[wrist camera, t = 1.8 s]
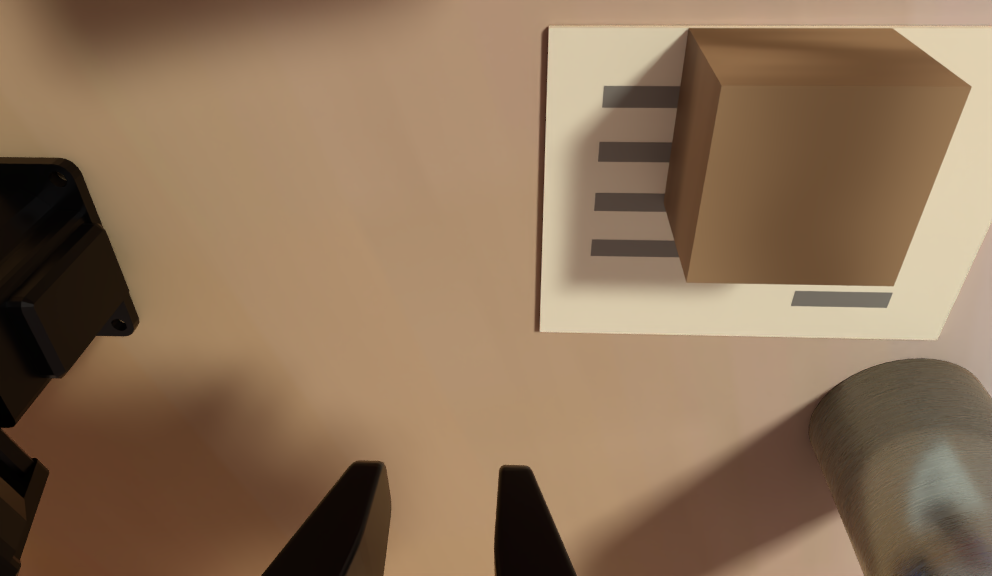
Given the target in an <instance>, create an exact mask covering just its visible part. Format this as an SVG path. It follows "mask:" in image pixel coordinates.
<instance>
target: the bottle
mask: <svg viewBox="0 0 992 576" xmlns="http://www.w3.org/2000/svg"><path fill="white" fill-rule="evenodd" d="M809 438H810V442H811V444H812V447H813V449H814V452H815V454H816V457H817V459H818V462H819V464H820V467H821V469H822V472H823V474H824V477H825V479H826V482H827V484H828V487H829V489H830V492H831V494H832V497H833V499H834V502H835V504H836V507H837V509H838V512H839V514H840V517H841V519H842V522H843V524H844V527H845V529H846V532H847V534H848V536H849V539H850V541H851V544H852V546H853V549H854V551H855V554H856V556H857V559H858V561H859V564H860V566H861V569H862V571H863V574H864V576H992V398H991V396H990V395H989V394H988V392H987V391H986V389H985V388H984V387H983V385H982V384H981V382H980V381H979V380H978V379H977V378H976V377H975V376H974V375H973V374H972V373H971V372H969V371H968V370H966V369H965V368H963V367H961V366H959V365H956V364H953V363H950V362H947V361H942V360H936V359H924V358H923V359H905V360H898V361H893V362H888V363H884V364H881V365H877V366H874V367H871V368H869V369H866V370H864V371H861V372H859V373H857V374H855V375H853V376H851V377H850V378H848V379H846V380H845V381H843V382H842V383H840V384H839V385H838V386H836V387H835V388H834V389H832V390H831V391H830V392H829V393H828V394H827V395H826V396H825V397H824V398H823V399H822V401H821V402H820V403H819V404H818V406H817V408H816V409H815V411H814V413H813V415H812V417H811V421H810V425H809Z"/></svg>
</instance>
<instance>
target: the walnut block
mask: <svg viewBox="0 0 992 576" xmlns="http://www.w3.org/2000/svg"><path fill="white" fill-rule="evenodd" d="M971 88H972V86H970V85H969V84H968V83H966V82H965V81H963V80H962V79H961V78H959V77H958V76H957V75H955V74H954V73H953V72H951V71H950V70H949V69H947V68H946V67H944V66H943V65H942V64H940V63H939V62H938V61H936V60H935V59H934V58H932V57H931V56H930V55H928V54H927V53H926V52H924V51H923V50H921V49H920V48H919V47H917V46H916V45H915V44H913V43H912V42H911V41H909V40H908V39H907V38H905V37H904V36H902V35H901V34H900V33H898V32H897V31H896V30H894V29H893V28H689V29H688V36H687V43H686V50H685V57H684V64H683V71H682V78H681V85H680V92H679V99H678V106H677V113H676V120H675V127H674V134H673V141H672V148H671V155H670V161H669V168H668V175H667V182H666V189H665V196H664V206H665V210H666V213H667V217H668V220H669V224H670V227H671V231H672V234H673V238H674V241H675V245H676V248H677V252H678V255H679V259H680V262H681V266H682V269H683V273H684V276H685V280H686V283H728V284H785V285H842V286H894V284H895V282H896V279H897V277H898V274H899V272H900V269H901V267H902V264H903V261H904V259H905V256H906V254H907V251H908V249H909V246H910V244H911V241H912V238H913V236H914V233H915V231H916V228H917V226H918V223H919V221H920V218H921V215H922V213H923V210H924V208H925V205H926V203H927V200H928V198H929V195H930V192H931V190H932V187H933V185H934V182H935V180H936V177H937V175H938V172H939V170H940V167H941V164H942V162H943V159H944V157H945V154H946V152H947V149H948V147H949V144H950V141H951V139H952V136H953V134H954V131H955V129H956V126H957V124H958V121H959V118H960V116H961V113H962V111H963V108H964V106H965V103H966V101H967V98H968V95H969V93H970V90H971Z"/></svg>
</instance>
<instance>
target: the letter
mask: <svg viewBox="0 0 992 576" xmlns="http://www.w3.org/2000/svg"><path fill="white" fill-rule="evenodd" d="M689 28H893V29H894V30H896V31H897V32H898V33H900V34H901V35H902V36H904V37H905V38H907V39H908V40H909V41H911V42H912V43H913V44H915V45H916V46H917V47H919V48H920V49H921V50H923V51H924V52H926V53H927V54H928V55H930V56H931V57H932V58H934V59H935V60H936V61H938V62H939V63H940V64H942V65H943V66H944V67H946V68H947V69H949V70H950V71H951V72H953V73H954V74H955V75H957V76H958V77H959V78H961V79H962V80H963V81H965V82H966V83H968V84H969V85H970V86H972V88H971V90H970V93H969V95H968V98H967V101H966V103H965V106H964V108H963V111H962V113H961V116H960V118H959V121H958V124H957V126H956V129H955V131H954V134H953V136H952V139H951V141H950V144H949V147H948V149H947V152H946V154H945V157H944V159H943V162H942V164H941V167H940V170H939V172H938V175H937V177H936V180H935V182H934V185H933V187H932V190H931V192H930V195H929V198H928V200H927V203H926V205H925V208H924V210H923V213H922V215H921V218H920V221H919V223H918V226H917V228H916V231H915V233H914V236H913V238H912V241H911V244H910V246H909V249H908V251H907V254H906V256H905V259H904V261H903V264H902V267H901V269H900V272H899V274H898V277H897V279H896V282H895V284H894V286H842V285H785V284H728V283H686V280H685V276H684V273H683V269H682V266H681V262H680V259H679V255H678V252H677V248H676V245H675V241H674V238H673V234H672V231H671V227H670V224H669V220H668V217H667V213H666V210H665V206H664V196H665V189H666V182H667V175H668V168H669V161H670V155H671V148H672V141H673V134H674V127H675V120H676V113H677V106H678V99H679V92H680V85H681V78H682V71H683V64H684V57H685V50H686V43H687V36H688V29H689ZM991 222H992V26H549V36H548V70H547V103H546V136H545V169H544V203H543V236H542V269H541V302H540V332H567V333H615V334H662V335H710V336H758V337H806V338H853V339H901V340H937V339H938V337H939V335H940V332H941V330H942V328H943V326H944V324H945V322H946V319H947V317H948V315H949V313H950V311H951V309H952V306H953V304H954V302H955V300H956V298H957V296H958V293H959V291H960V289H961V287H962V285H963V283H964V280H965V278H966V276H967V274H968V272H969V270H970V267H971V265H972V263H973V261H974V259H975V257H976V254H977V252H978V250H979V248H980V246H981V244H982V241H983V239H984V237H985V235H986V233H987V231H988V228H989V226H990V224H991Z"/></svg>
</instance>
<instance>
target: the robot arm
mask: <svg viewBox="0 0 992 576" xmlns="http://www.w3.org/2000/svg"><path fill="white" fill-rule="evenodd" d="M57 172H59V173H61V174H62V175H64V176H65V178H66V179H67V181H66V180H63V179H62V178H60V177H59V175H58V174H57ZM120 320H122V321H123V322H125V323H123V322H121V321H120ZM138 324H139V317H138V315H137V312H136V310H135V307H134V305H133V302H132V300H131V297H130V294H129V289H128V287H127V284H126V281H125V279H124V276H123V274H122V271H121V269H120V266H119V264H118V261H117V259H116V256H115V254H114V251H113V248H112V246H111V243H110V241H109V238H108V236H107V233H106V231H105V230H104V228H103V226H102V224H101V221H100V219H99V216H98V214H97V211H96V208H95V206H94V203H93V201H92V198H91V196H90V193H89V191H88V188H87V186H86V183H85V181H84V178H83V176H82V173H81V171H80V170H79V168H78V167H77V166H76V165H75V164H74V163H73V162H71V161H69V160H67V159H63V158H25V157H0V427H1V428H10V427H14V426H15V424H16V423H17V422H18V421H19V419H20V418H21V417H22V416H23V414H24V413H25V412H26V411H27V409H28V408H29V407H30V405H31V404H32V403H33V402H34V400H35V399H36V398H37V397H38V395H39V394H40V393H41V392H42V390H43V389H44V388H45V387H46V385H47V384H48V383H49V382H50V380H51V379H52V378H62V377H64V376H65V374H66V373H67V372H68V371H69V370H70V368H71V367H72V366H73V365H74V363H75V362H76V361H77V359H78V358H79V357H80V356H81V354H82V353H83V352H84V350H85V349H86V348H87V347H88V345H89V344H90V343H91V341H92V340H93V339H94V338H95V336H129V335H130V334H132V333H133V332H134V330H135V329H136V328H137V326H138ZM1 428H0V576H18V574H19V570H20V567H21V562H20V558H21V555H22V552H23V549H24V546H25V543H26V540H27V537H28V534H29V531H30V528H31V525H32V522H33V519H34V516H35V513H36V510H37V507H38V504H39V501H40V498H41V495H42V492H43V490H44V487H45V484H46V481H47V478H48V475H49V470H48V469H47V468H46V467H45V466H44V465H43V464H42V463H41V462H40V461H39V460H38V459H36V458H30V457H29V456H28V455H27V454H26V453H25V452H24V451H23V450H22V449H21V448H20V447H19V446H18V445H17V444H16V443H15V442H14V441H13V440H12V439H11V438H10V437H9V436H8V435H7V434H6V433H5V432H4V431H3V430H2V429H1ZM390 518H391V496H390V490H389V483H388V477H387V470H386V466H385V465H384V463H383V462H381V461H362V460H359V461H355V462H354V463H352V464H351V465H350V466H349V468H348V469H347V470H346V471H345V472H344V474H343V475H342V476H341V477H340V479H339V480H338V481H337V482H336V484H335V485H334V486H333V487H332V489H331V490H330V491H329V492H328V494H327V495H326V496H325V497H324V499H323V500H322V501H321V502H320V503H319V505H318V506H317V507H316V508H315V510H314V511H313V512H312V513H311V515H310V516H309V517H308V518H307V520H306V521H305V522H304V523H303V525H302V526H301V527H300V528H299V530H298V531H297V532H296V533H295V534H294V536H293V537H292V538H291V539H290V541H289V542H288V543H287V544H286V546H285V547H284V548H283V549H282V551H281V552H280V553H279V554H278V556H277V557H276V558H275V559H274V561H273V562H272V563H271V564H270V565H269V567H268V568H267V569H266V570H265V572H264V573H263V574H262V575H261V576H383V575H384V566H385V558H386V550H387V542H388V534H389V526H390ZM494 565H495V576H577V575H576V572H575V570H574V568H573V565H572V563H571V561H570V558H569V556H568V554H567V551H566V549H565V547H564V544H563V542H562V540H561V537H560V535H559V533H558V530H557V528H556V526H555V523H554V521H553V518H552V516H551V514H550V511H549V509H548V507H547V504H546V502H545V500H544V497H543V495H542V493H541V490H540V488H539V486H538V483H537V481H536V479H535V476H534V474H533V472H532V470H531V469H530V467H528V466H524V465H503V466H501V468H500V470H499V479H498V494H497V508H496V522H495V537H494Z"/></svg>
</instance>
